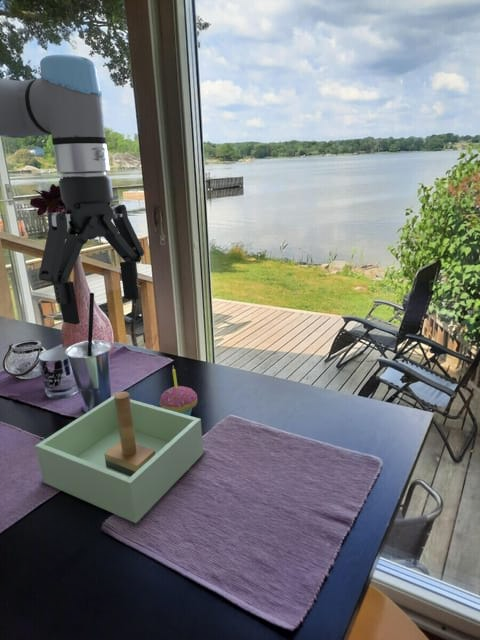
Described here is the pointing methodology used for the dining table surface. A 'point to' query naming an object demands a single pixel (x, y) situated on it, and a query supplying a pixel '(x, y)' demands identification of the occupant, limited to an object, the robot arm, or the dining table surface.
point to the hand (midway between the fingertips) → (103, 309)
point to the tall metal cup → (91, 367)
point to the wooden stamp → (126, 441)
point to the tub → (103, 433)
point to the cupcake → (178, 398)
